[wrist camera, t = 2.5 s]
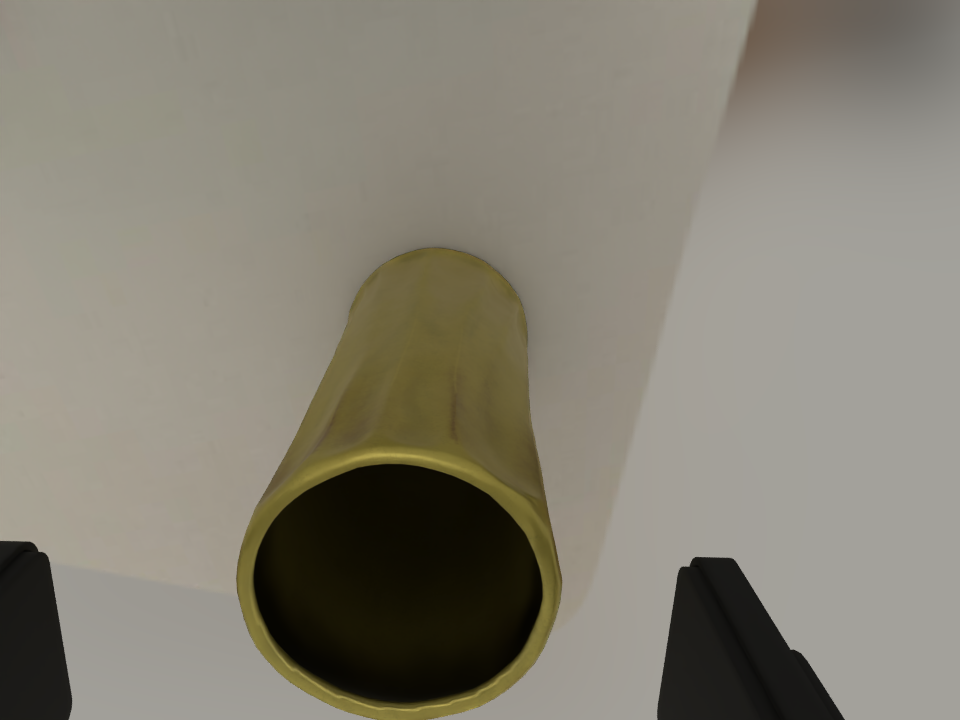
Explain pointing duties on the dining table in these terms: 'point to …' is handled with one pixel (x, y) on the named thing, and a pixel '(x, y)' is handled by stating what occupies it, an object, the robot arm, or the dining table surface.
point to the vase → (410, 506)
